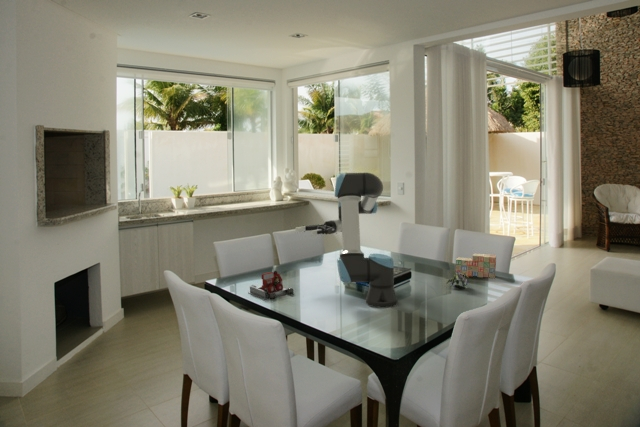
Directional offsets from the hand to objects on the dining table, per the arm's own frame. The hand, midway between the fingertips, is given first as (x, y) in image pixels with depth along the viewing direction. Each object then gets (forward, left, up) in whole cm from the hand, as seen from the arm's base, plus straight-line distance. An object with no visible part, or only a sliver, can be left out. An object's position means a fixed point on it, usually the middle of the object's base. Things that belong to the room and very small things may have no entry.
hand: (303, 231), depth 251 cm
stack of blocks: (-54, -83, -30) cm, 103 cm away
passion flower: (-60, -54, -30) cm, 86 cm away
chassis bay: (+3, +20, -30) cm, 36 cm away
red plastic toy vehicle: (+3, +20, -30) cm, 36 cm away
